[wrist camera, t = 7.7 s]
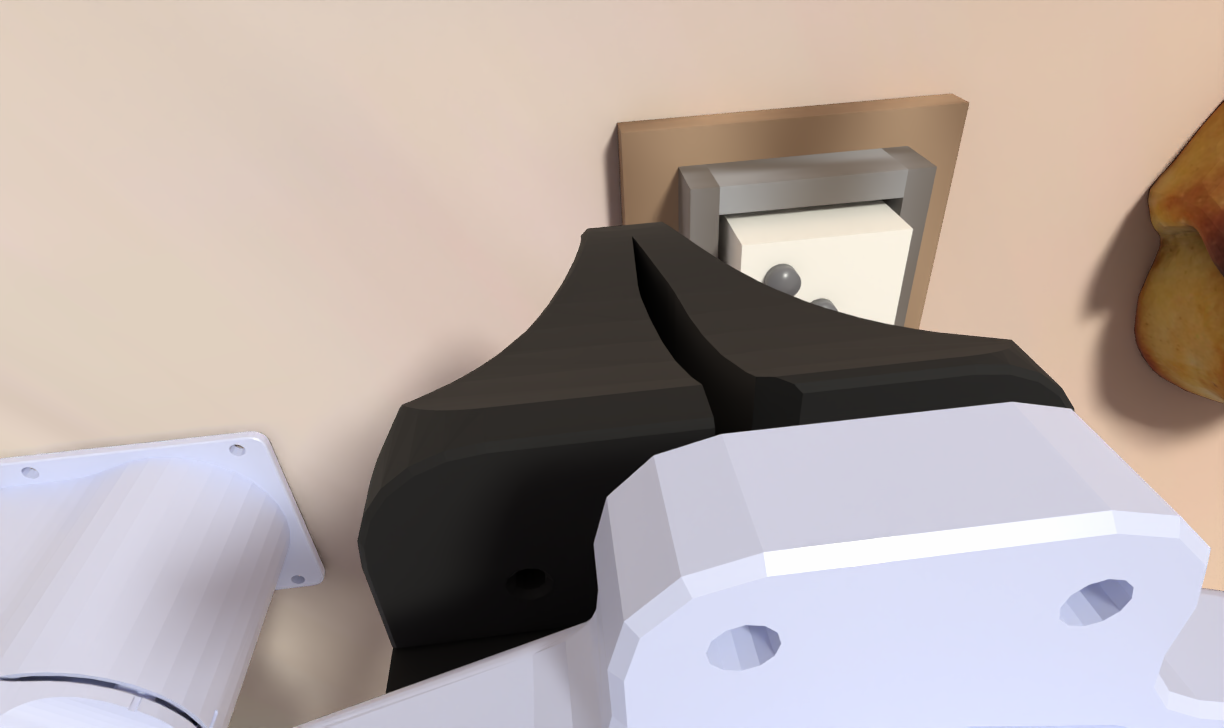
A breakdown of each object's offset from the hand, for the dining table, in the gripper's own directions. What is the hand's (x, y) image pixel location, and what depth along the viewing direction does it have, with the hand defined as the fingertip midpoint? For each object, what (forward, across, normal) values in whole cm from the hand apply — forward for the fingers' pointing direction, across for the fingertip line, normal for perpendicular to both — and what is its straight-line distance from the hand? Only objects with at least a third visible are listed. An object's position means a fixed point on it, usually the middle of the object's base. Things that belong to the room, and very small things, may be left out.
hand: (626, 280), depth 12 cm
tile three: (+9, -6, +5) cm, 12 cm away
